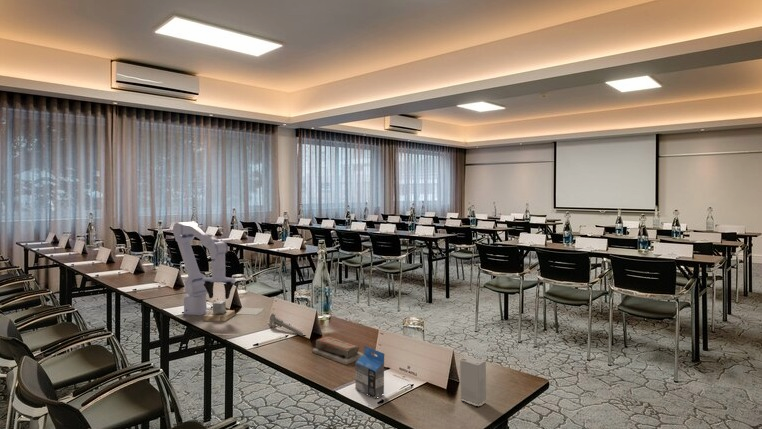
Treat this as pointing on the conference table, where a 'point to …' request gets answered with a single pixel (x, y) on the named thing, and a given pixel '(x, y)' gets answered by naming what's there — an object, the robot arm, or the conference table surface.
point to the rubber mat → (250, 311)
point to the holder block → (219, 316)
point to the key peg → (219, 307)
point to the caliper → (282, 324)
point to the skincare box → (473, 380)
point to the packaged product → (337, 350)
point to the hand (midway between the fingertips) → (219, 298)
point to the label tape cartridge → (370, 373)
